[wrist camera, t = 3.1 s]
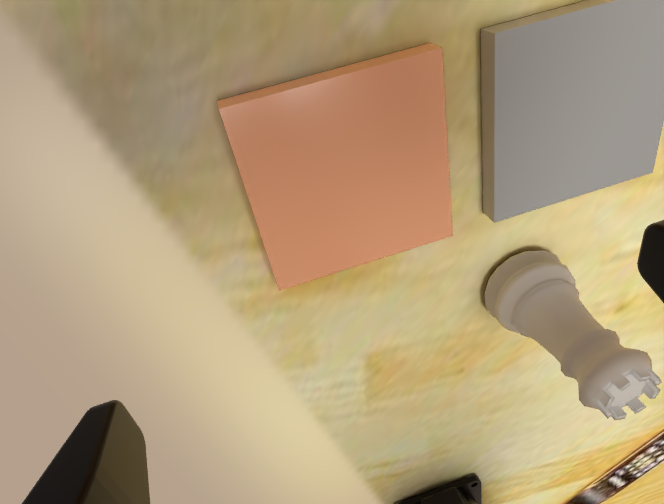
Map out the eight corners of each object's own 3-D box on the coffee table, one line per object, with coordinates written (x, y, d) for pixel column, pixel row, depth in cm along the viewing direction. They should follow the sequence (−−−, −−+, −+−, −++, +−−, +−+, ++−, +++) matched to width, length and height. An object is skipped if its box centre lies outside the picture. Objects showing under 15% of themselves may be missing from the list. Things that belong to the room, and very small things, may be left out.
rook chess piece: (572, 250, 25) (705, 358, 19) (531, 317, 27) (639, 435, 21) (503, 239, 24) (624, 353, 17) (465, 311, 26) (561, 437, 19)
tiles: (636, 164, 23) (652, 172, 22) (275, 277, 22) (279, 290, 21) (671, -23, 19) (693, -21, 18) (216, 100, 17) (218, 108, 16)
